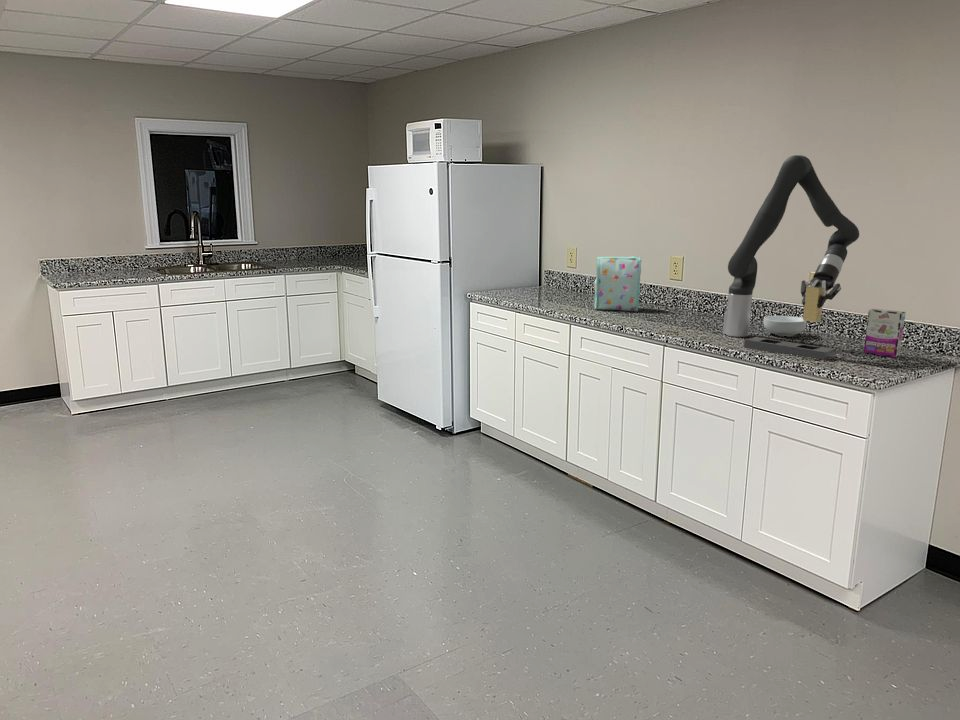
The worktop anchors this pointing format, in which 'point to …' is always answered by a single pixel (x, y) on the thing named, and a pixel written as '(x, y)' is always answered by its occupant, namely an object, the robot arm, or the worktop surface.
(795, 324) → the cereal bowl
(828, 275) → the robot arm
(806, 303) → the brass peg
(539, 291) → the worktop surface
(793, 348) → the grey peg board
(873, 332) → the candy bar box
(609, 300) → the lunch bag
